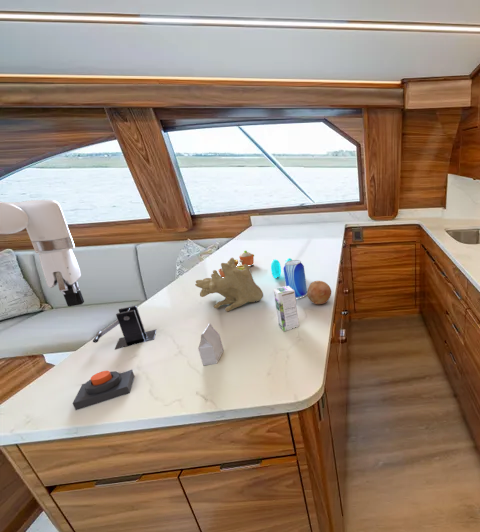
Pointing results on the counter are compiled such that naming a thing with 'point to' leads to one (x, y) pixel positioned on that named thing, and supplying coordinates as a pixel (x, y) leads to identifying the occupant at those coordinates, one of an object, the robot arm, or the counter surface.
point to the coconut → (319, 292)
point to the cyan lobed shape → (277, 267)
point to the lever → (106, 330)
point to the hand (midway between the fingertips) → (76, 304)
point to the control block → (104, 390)
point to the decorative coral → (231, 286)
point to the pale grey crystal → (210, 346)
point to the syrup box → (286, 307)
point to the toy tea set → (244, 259)
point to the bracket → (132, 328)
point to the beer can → (295, 277)
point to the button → (101, 377)
